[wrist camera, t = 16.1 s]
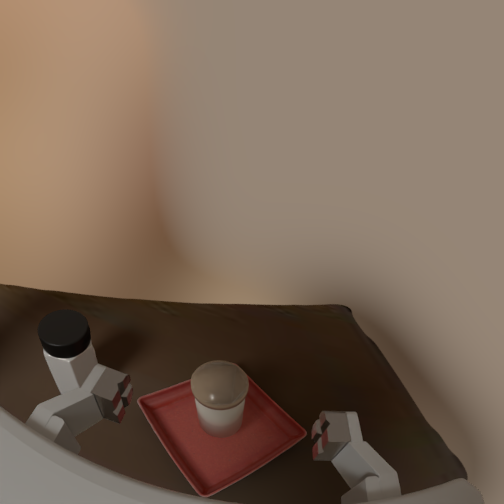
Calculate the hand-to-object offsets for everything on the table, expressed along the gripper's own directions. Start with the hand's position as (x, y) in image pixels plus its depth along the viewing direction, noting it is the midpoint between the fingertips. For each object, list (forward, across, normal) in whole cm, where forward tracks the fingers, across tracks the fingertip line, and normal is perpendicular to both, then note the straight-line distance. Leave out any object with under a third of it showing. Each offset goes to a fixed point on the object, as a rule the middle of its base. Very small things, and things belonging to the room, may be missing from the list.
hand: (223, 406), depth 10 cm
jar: (+16, +24, +28) cm, 40 cm away
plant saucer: (+15, 0, +29) cm, 32 cm away
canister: (+15, 0, +25) cm, 29 cm away
